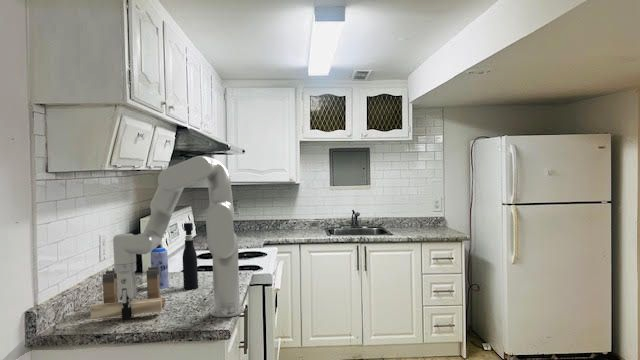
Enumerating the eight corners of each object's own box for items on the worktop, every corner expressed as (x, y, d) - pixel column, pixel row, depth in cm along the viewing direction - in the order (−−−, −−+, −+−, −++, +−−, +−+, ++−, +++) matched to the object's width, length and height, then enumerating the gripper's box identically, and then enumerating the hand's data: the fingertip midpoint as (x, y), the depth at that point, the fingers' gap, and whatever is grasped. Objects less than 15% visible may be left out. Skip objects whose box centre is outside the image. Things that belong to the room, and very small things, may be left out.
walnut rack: (163, 307, 179) (162, 269, 179) (98, 314, 173) (96, 275, 173) (165, 301, 187) (163, 265, 187) (102, 308, 181) (100, 271, 181)
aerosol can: (160, 289, 206) (158, 246, 205) (147, 288, 210) (145, 245, 209) (172, 285, 213) (171, 243, 212) (160, 284, 217) (159, 242, 216)
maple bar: (161, 311, 168) (160, 300, 168) (90, 319, 162) (90, 308, 161) (162, 308, 172) (161, 297, 172) (93, 315, 165) (92, 304, 165)
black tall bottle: (181, 288, 208) (178, 223, 207) (194, 285, 212) (191, 222, 211) (187, 290, 203) (184, 224, 202) (200, 288, 207) (197, 223, 206)
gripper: (133, 271, 159) (135, 322, 160) (139, 262, 175) (141, 308, 176) (110, 273, 157) (112, 325, 158) (118, 263, 173) (120, 310, 174)
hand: (127, 315), depth 167 cm, fingers closed on maple bar, 3 cm apart
